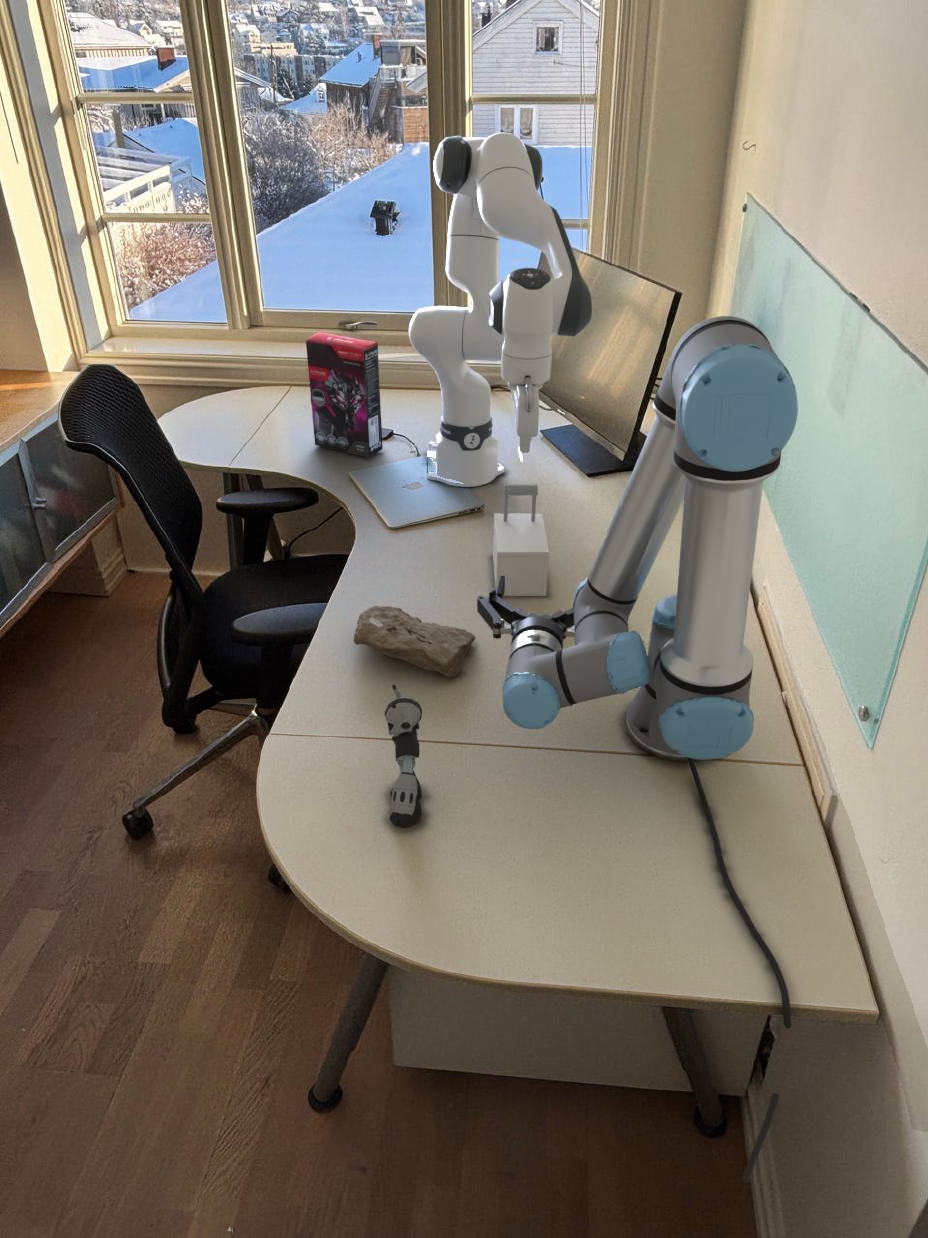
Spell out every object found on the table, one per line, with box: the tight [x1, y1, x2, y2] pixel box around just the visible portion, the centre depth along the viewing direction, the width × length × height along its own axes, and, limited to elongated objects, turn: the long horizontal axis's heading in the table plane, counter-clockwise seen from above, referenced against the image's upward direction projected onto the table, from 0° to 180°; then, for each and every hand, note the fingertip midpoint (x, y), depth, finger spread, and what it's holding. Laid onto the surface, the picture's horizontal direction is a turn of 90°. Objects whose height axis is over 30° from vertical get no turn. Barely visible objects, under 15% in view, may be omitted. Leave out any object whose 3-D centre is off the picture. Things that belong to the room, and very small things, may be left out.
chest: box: [492, 522, 550, 597], centre depth 179 cm, size 15×10×9 cm, turn 1°
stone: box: [353, 605, 477, 679], centre depth 158 cm, size 21×15×6 cm
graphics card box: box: [305, 331, 384, 458], centre depth 224 cm, size 17×7×27 cm, turn 62°
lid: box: [493, 483, 550, 557], centre depth 174 cm, size 16×10×9 cm, turn 1°
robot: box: [383, 684, 423, 828], centre depth 123 cm, size 20×5×20 cm, turn 3°
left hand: (522, 440), depth 171 cm, fingers open, 8 cm apart
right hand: (543, 584), depth 151 cm, fingers open, 13 cm apart
